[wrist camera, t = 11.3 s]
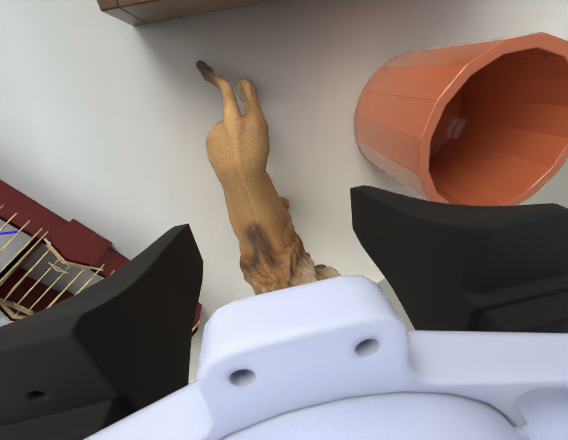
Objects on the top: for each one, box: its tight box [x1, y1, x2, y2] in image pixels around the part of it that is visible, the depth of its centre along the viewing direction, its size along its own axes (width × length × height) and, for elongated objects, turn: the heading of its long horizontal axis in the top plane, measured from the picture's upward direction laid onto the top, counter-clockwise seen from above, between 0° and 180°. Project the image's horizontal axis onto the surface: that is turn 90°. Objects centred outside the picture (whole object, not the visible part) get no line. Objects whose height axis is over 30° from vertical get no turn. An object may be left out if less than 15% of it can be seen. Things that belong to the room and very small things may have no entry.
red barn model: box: [0, 180, 202, 336], centre depth 19 cm, size 22×13×5 cm, turn 42°
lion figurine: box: [195, 60, 341, 295], centre depth 16 cm, size 15×5×9 cm, turn 23°
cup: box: [354, 32, 568, 206], centre depth 16 cm, size 8×8×8 cm
